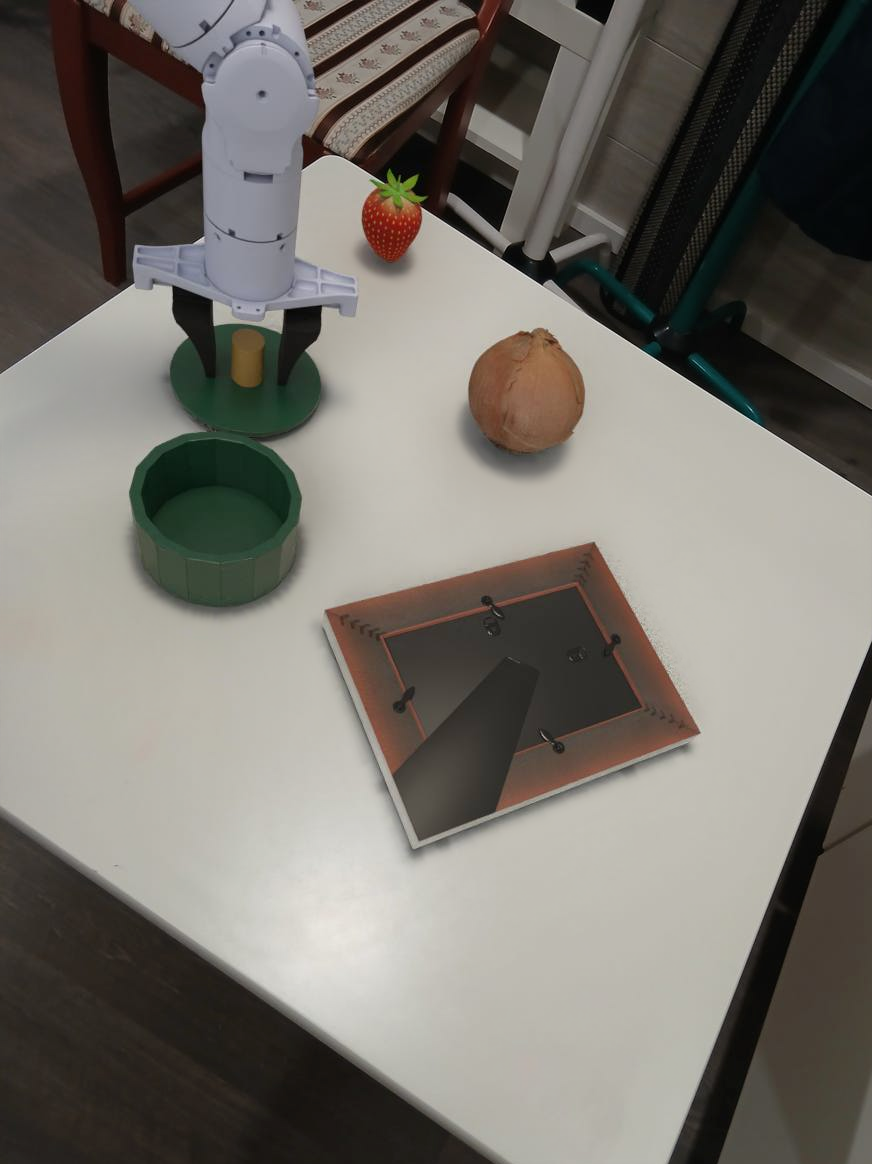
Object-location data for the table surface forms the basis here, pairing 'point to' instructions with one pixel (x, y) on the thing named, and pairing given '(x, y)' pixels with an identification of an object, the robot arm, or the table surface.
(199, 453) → the tea tin
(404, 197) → the fruit
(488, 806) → the picture frame
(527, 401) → the onion
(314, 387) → the tin lid
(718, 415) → the table surface
